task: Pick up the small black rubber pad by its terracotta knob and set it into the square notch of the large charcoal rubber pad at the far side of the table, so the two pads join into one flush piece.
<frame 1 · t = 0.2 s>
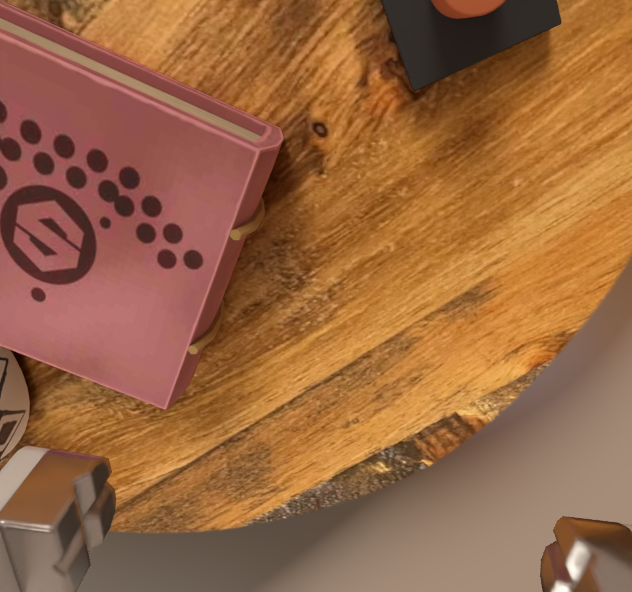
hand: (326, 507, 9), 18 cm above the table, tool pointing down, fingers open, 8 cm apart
book: (114, 203, 27), on the table
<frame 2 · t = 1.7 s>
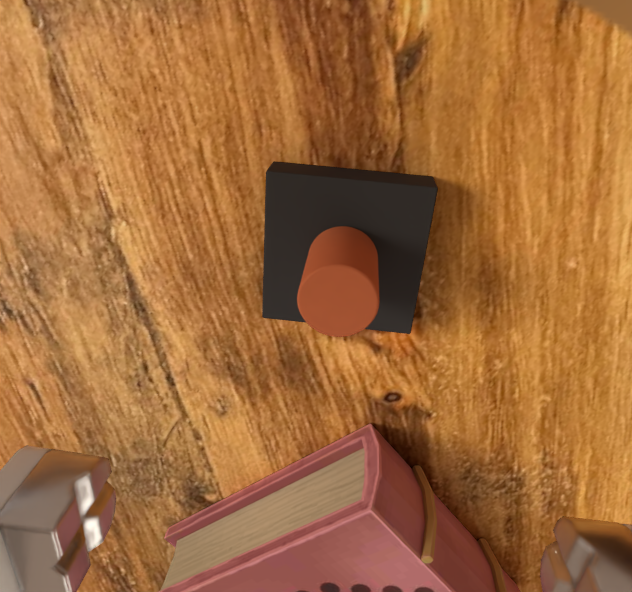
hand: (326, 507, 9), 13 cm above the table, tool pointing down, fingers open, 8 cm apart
book: (347, 550, 29), on the table
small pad: (344, 243, 20), on the table
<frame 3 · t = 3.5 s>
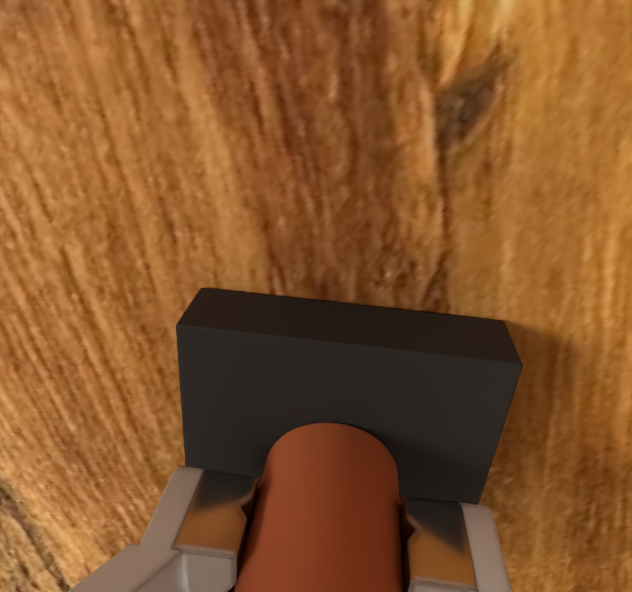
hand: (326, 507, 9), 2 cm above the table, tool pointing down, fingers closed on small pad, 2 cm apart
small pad: (336, 419, 11), on the table, touching gripper
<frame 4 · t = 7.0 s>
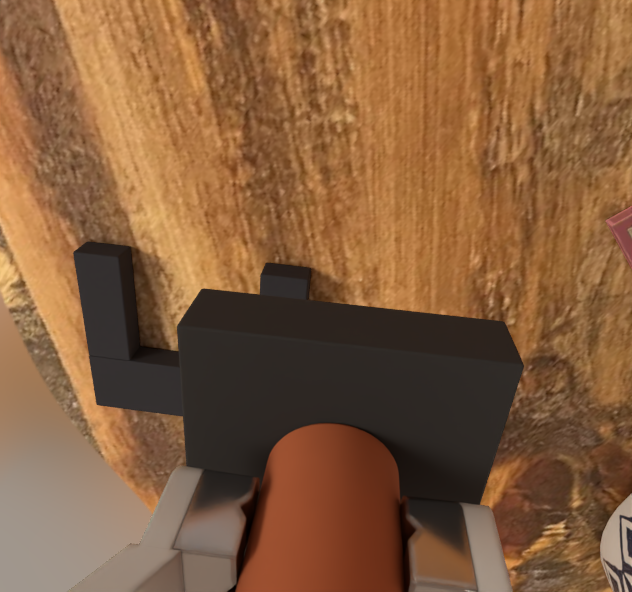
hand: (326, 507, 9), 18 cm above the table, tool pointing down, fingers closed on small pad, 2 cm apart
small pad: (337, 420, 11), point 15 cm above the table, touching gripper
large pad: (200, 333, 29), on the table
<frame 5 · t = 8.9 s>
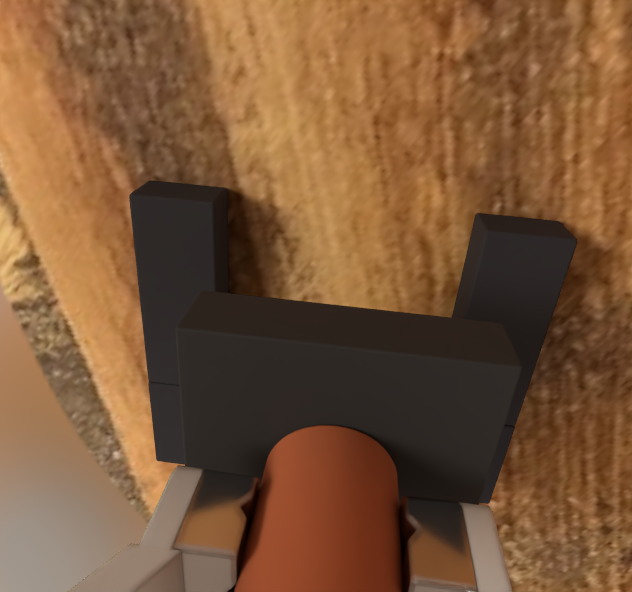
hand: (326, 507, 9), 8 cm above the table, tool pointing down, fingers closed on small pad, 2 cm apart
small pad: (336, 421, 11), point 6 cm above the table, touching gripper
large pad: (335, 343, 17), on the table
when the fingers open (2 cm above the table, at t = 10.3 s): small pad stays where it is, on the table.
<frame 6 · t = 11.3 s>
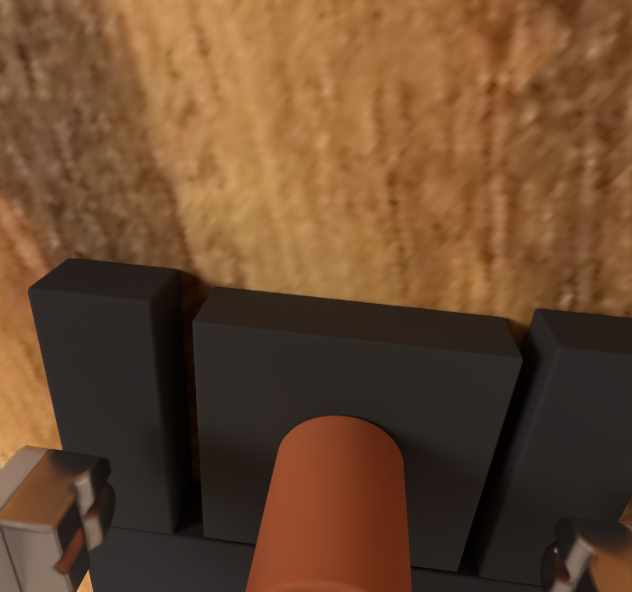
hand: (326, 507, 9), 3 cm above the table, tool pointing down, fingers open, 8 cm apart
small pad: (343, 413, 12), on the table
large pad: (332, 465, 13), on the table
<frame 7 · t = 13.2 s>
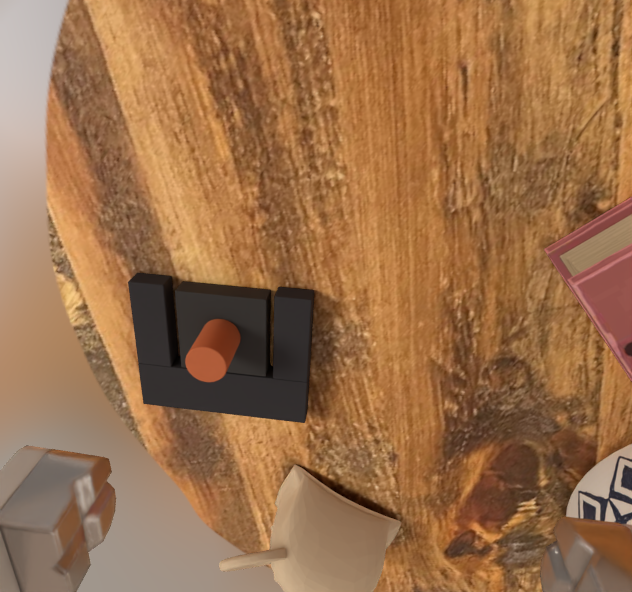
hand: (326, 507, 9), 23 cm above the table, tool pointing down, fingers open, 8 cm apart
decorative ornament: (392, 519, 43), on the table
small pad: (227, 324, 35), on the table
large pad: (226, 344, 36), on the table
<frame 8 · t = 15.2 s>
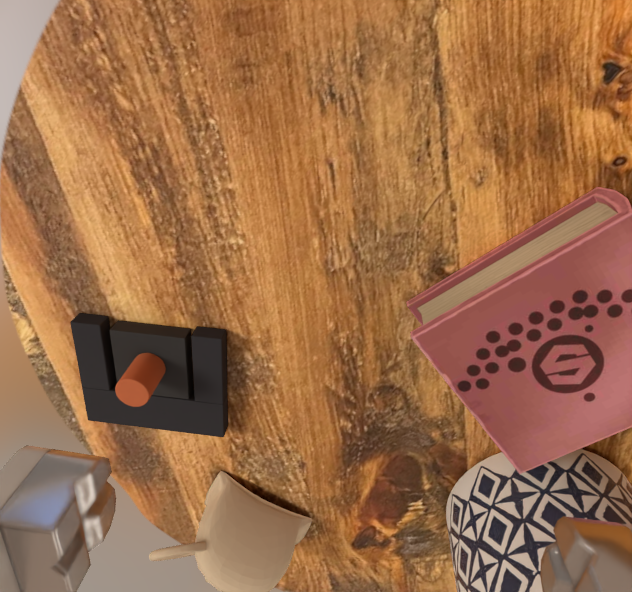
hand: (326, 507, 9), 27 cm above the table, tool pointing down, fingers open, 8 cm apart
decorative ornament: (306, 516, 50), on the table
book: (549, 318, 37), on the table
planter: (534, 504, 46), on the table
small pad: (157, 355, 42), on the table
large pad: (157, 371, 43), on the table
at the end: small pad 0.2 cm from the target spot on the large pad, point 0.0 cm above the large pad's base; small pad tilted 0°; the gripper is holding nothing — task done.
